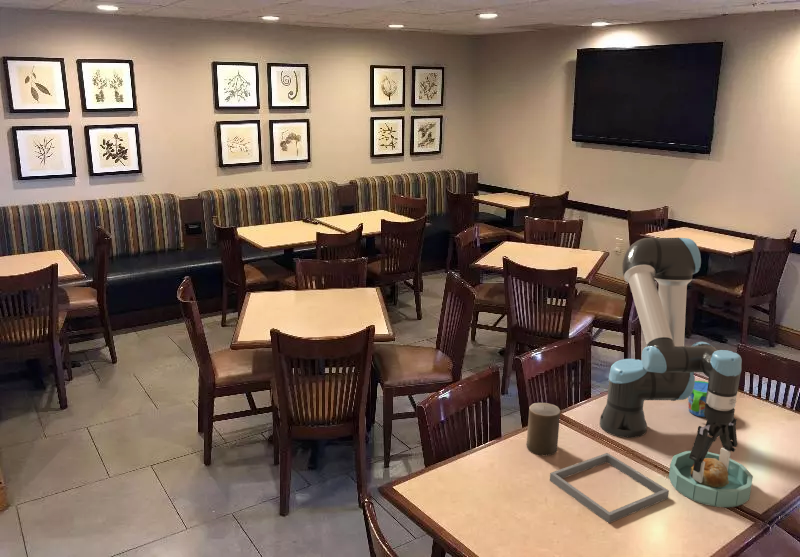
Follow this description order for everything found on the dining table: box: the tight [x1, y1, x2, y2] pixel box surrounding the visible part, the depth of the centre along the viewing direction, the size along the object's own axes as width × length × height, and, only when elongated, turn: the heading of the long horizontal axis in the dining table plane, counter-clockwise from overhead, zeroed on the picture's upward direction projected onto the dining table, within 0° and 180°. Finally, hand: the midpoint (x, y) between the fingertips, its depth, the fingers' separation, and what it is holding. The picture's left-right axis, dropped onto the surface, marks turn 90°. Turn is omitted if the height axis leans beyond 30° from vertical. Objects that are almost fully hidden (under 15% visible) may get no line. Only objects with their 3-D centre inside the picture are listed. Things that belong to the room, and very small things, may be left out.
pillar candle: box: [526, 402, 561, 456], centre depth 210 cm, size 10×10×15 cm
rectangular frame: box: [549, 452, 670, 524], centre depth 190 cm, size 23×23×2 cm
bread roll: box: [691, 458, 729, 488], centre depth 191 cm, size 10×10×8 cm
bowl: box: [668, 450, 754, 508], centre depth 191 cm, size 21×21×5 cm
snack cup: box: [687, 380, 708, 418], centre depth 234 cm, size 16×10×10 cm
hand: (710, 475), depth 191 cm, fingers closed on bread roll, 10 cm apart
